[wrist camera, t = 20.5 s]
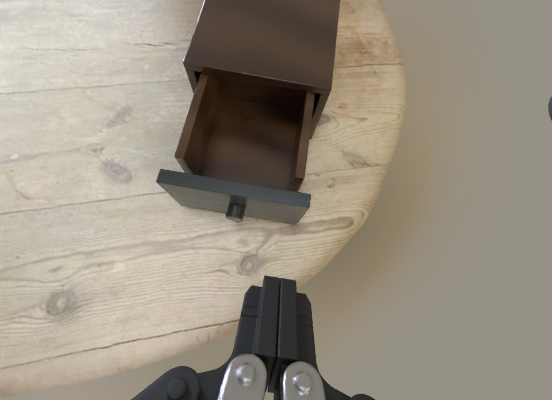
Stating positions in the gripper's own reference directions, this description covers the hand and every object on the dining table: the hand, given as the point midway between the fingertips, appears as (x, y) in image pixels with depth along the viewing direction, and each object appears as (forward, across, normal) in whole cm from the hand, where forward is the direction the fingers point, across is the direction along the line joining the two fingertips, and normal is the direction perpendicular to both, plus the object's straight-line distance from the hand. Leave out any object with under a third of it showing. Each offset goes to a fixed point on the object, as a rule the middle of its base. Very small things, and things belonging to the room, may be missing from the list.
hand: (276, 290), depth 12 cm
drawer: (+18, +4, 0) cm, 19 cm away
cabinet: (+28, +4, -8) cm, 29 cm away
